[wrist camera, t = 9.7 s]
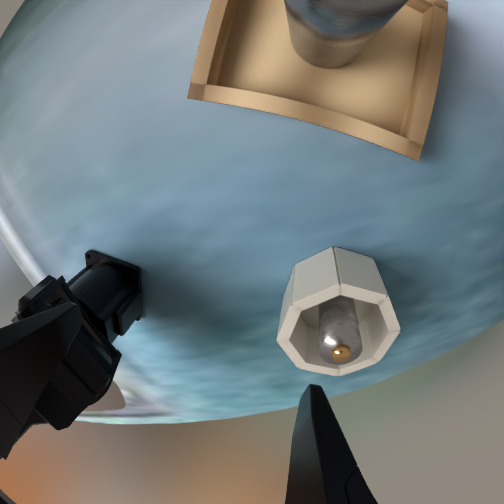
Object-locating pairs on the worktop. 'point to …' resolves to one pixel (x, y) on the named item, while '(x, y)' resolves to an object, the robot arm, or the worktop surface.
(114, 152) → the worktop surface
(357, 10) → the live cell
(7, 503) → the robot arm
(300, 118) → the wooden tray
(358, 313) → the cup
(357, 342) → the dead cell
